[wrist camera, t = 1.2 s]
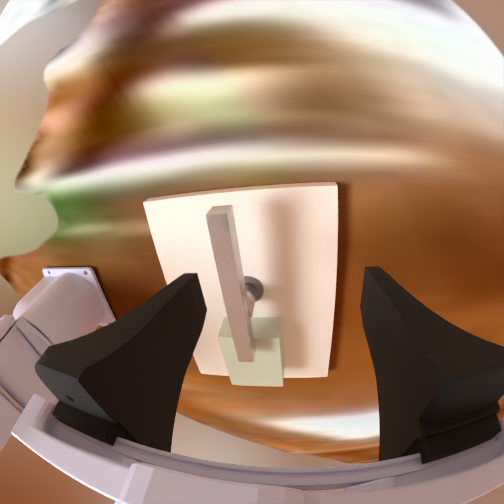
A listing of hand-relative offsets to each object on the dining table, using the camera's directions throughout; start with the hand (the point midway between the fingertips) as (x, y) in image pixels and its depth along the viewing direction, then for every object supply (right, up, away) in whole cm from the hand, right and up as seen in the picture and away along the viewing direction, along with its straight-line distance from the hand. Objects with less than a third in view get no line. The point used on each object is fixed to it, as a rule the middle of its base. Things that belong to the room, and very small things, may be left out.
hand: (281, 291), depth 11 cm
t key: (-2, 0, +10) cm, 10 cm away
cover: (-1, -7, +14) cm, 15 cm away
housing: (-1, -3, +13) cm, 13 cm away
